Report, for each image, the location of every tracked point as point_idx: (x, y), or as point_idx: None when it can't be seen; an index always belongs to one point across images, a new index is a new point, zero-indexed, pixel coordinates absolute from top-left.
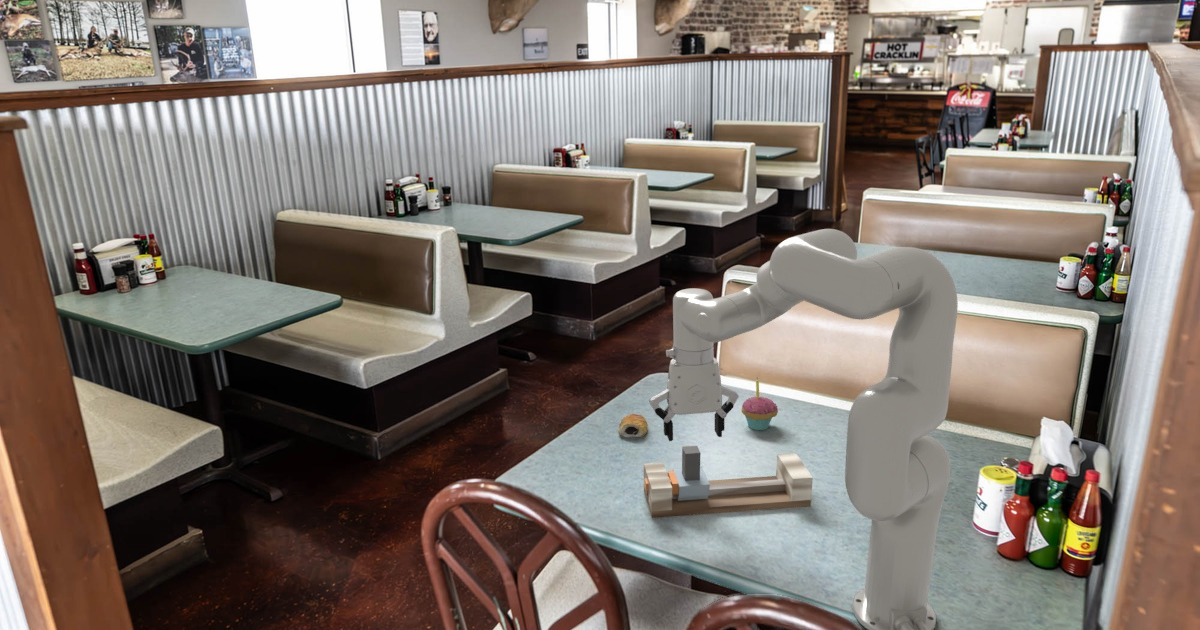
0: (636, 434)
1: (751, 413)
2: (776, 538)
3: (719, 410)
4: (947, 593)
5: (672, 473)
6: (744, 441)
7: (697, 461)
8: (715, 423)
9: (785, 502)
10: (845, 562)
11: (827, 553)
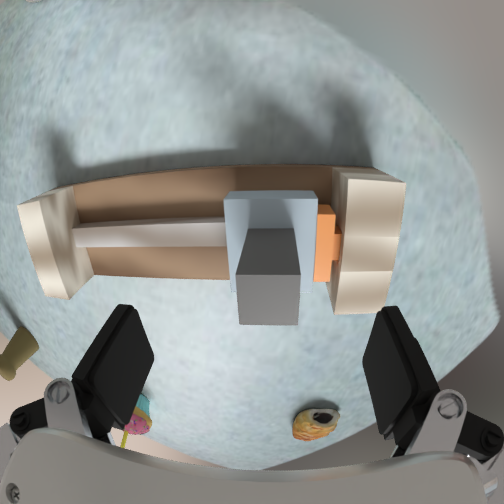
0: (315, 412)
1: (135, 413)
2: (120, 76)
3: (63, 427)
4: (5, 24)
5: (320, 269)
6: (151, 377)
7: (250, 256)
8: (135, 379)
9: (81, 184)
10: (53, 38)
11: (64, 52)
